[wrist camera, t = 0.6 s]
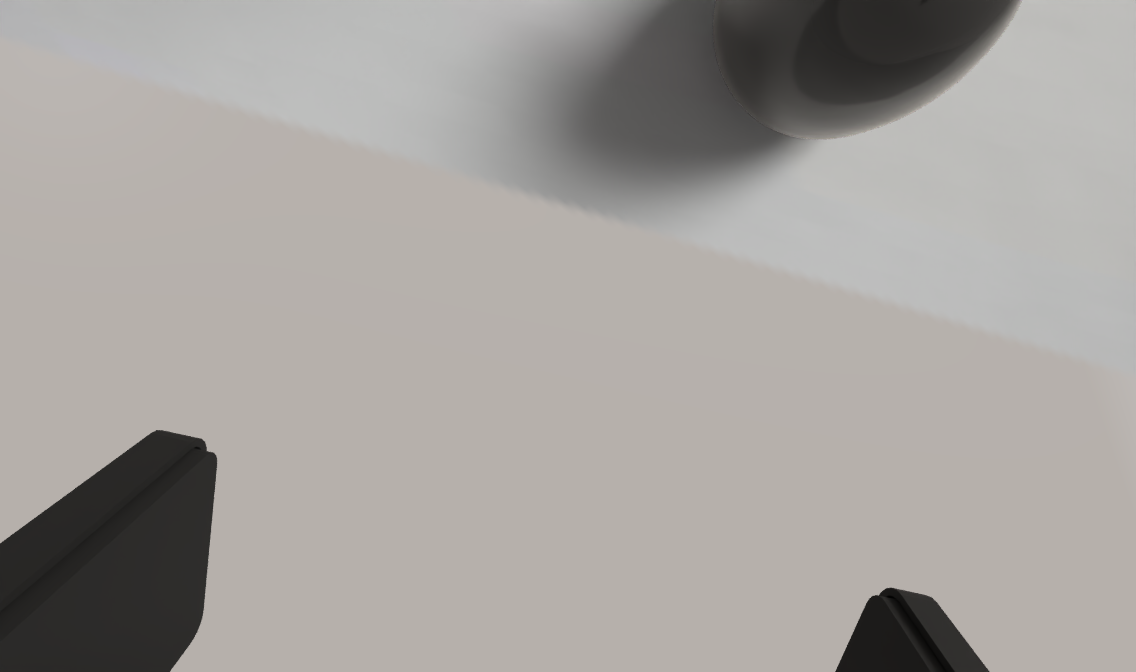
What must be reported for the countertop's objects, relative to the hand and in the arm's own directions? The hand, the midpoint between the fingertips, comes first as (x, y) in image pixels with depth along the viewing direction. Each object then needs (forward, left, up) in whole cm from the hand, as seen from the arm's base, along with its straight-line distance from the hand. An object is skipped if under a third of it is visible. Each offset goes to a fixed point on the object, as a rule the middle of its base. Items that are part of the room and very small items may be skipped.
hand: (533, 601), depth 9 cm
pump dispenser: (-14, +9, -29) cm, 33 cm away
